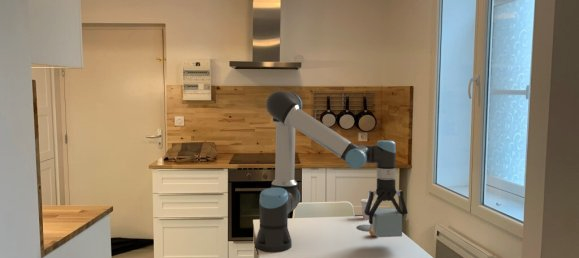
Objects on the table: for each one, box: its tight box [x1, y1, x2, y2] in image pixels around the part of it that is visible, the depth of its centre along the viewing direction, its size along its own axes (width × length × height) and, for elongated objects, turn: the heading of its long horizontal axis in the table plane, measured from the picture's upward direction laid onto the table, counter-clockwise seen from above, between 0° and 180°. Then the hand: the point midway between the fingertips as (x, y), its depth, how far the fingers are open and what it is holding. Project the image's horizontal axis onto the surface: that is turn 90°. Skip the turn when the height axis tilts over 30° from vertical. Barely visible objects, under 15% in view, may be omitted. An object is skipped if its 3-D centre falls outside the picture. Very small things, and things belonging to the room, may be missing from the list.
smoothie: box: [360, 191, 374, 221], centre depth 213 cm, size 6×6×14 cm
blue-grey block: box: [369, 208, 403, 238], centre depth 170 cm, size 10×10×9 cm
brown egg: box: [368, 228, 377, 237], centre depth 185 cm, size 5×5×5 cm
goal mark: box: [356, 224, 370, 232], centre depth 197 cm, size 10×10×1 cm
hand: (385, 231), depth 170 cm, fingers closed on blue-grey block, 10 cm apart
